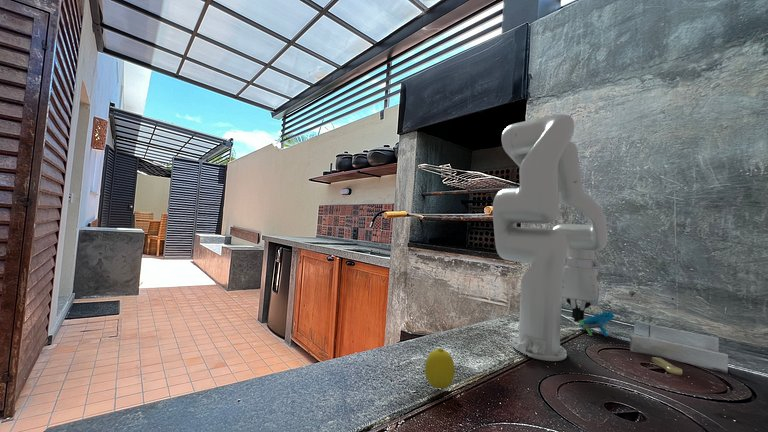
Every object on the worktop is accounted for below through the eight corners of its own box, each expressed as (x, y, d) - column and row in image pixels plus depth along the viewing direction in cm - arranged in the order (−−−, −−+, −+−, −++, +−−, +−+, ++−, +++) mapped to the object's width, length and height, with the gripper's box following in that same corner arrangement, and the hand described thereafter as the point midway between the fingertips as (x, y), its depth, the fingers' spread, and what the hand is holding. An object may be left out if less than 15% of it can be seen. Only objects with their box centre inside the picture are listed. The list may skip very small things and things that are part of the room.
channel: (728, 375, 70) (729, 358, 70) (629, 350, 82) (630, 335, 82) (717, 350, 85) (717, 336, 85) (634, 332, 96) (634, 319, 96)
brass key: (685, 375, 69) (685, 371, 69) (672, 374, 69) (672, 370, 69) (661, 361, 76) (662, 357, 76) (649, 360, 76) (649, 356, 76)
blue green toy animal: (601, 322, 100) (618, 307, 92) (613, 340, 95) (631, 326, 88) (569, 327, 99) (584, 312, 91) (580, 345, 94) (596, 331, 87)
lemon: (433, 379, 62) (435, 340, 63) (458, 390, 59) (460, 348, 59) (418, 390, 58) (420, 348, 58) (444, 402, 55) (446, 357, 55)
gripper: (610, 266, 96) (608, 324, 96) (556, 260, 106) (554, 313, 106) (607, 268, 91) (605, 330, 90) (551, 261, 101) (549, 317, 100)
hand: (577, 320), depth 98 cm, fingers closed
